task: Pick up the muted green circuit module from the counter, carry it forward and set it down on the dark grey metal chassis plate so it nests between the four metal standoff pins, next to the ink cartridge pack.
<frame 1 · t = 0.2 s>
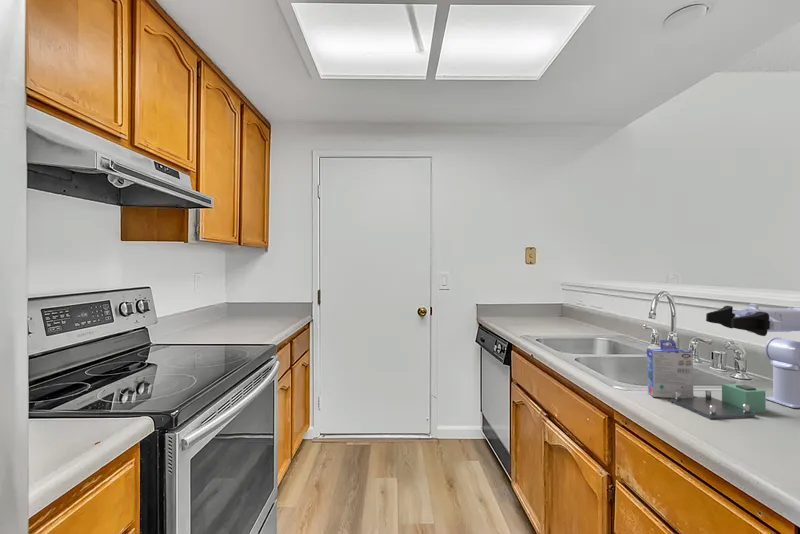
hand: (719, 320, 111), 21 cm above the table, tool horizontal, fingers open, 7 cm apart
chassis: (710, 408, 109), on the table
ink cartridge box: (669, 396, 121), on the table
module: (743, 408, 110), on the table
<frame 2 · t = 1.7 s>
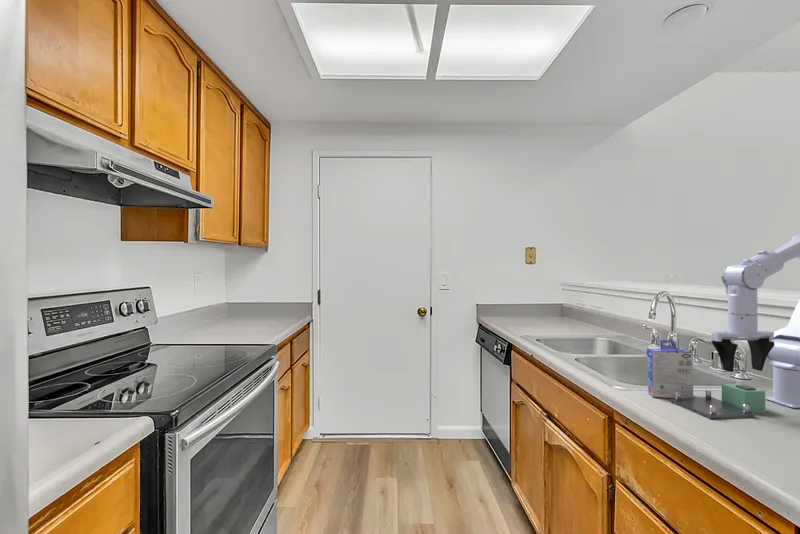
hand: (742, 370, 110), 9 cm above the table, tool pointing down, fingers open, 7 cm apart
nothing on the table moved.
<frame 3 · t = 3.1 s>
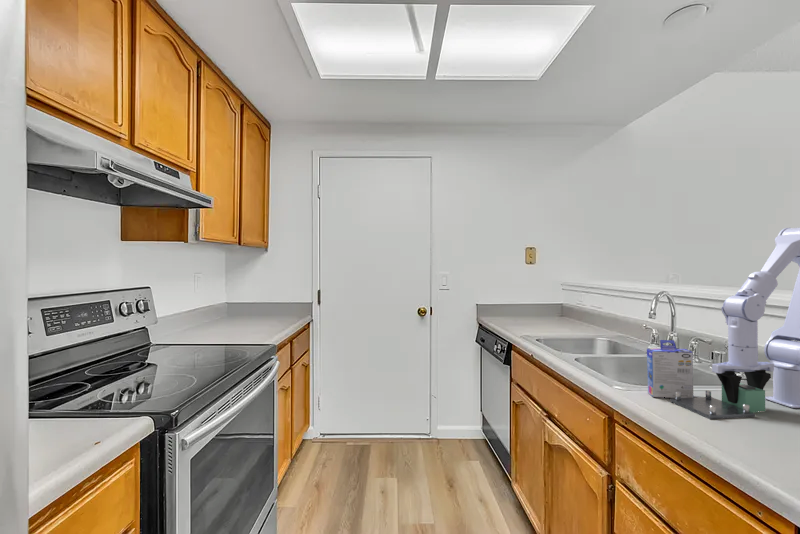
hand: (743, 401, 110), 1 cm above the table, tool pointing down, fingers closed on module, 5 cm apart
module: (742, 407, 110), on the table, touching gripper
everything else where it was.
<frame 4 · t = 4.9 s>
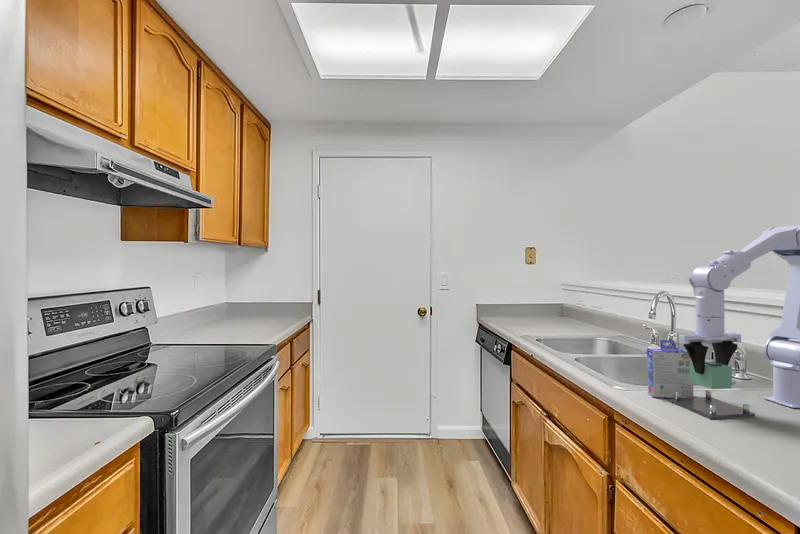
hand: (710, 372, 109), 9 cm above the table, tool pointing down, fingers closed on module, 5 cm apart
module: (710, 384, 109), point 6 cm above the table, touching gripper
everything else where it was.
when the fingers open (4 cm above the table, at t = 6.7 s): module stays where it is, resting on chassis.
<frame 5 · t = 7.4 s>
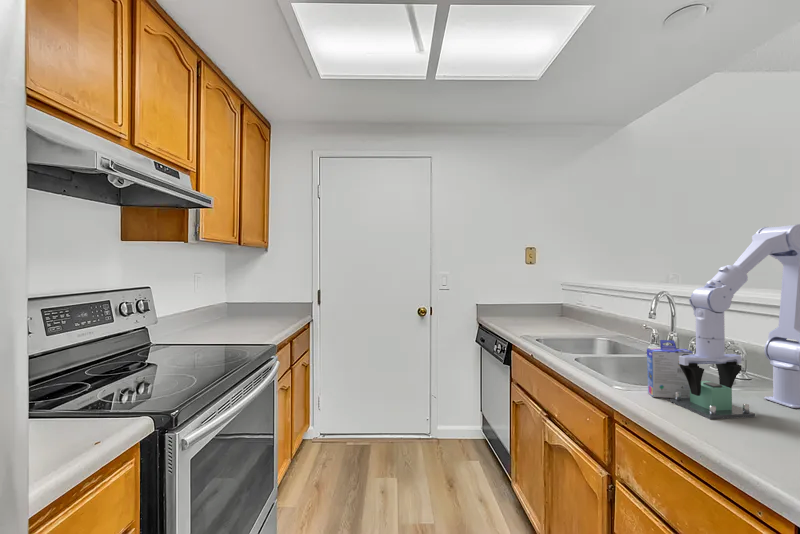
hand: (710, 394, 109), 4 cm above the table, tool pointing down, fingers open, 7 cm apart
module: (710, 405, 109), point 1 cm above the table, touching chassis
everything else where it was.
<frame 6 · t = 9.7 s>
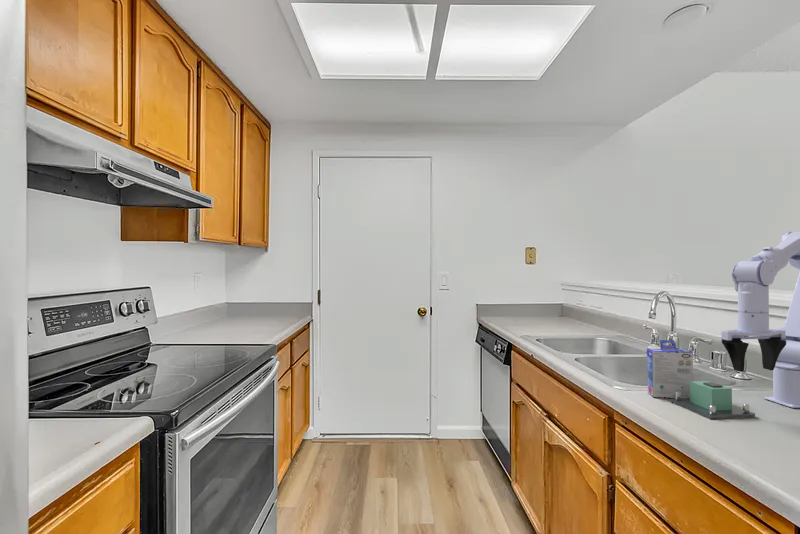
hand: (753, 370, 107), 10 cm above the table, tool pointing down, fingers open, 7 cm apart
nothing on the table moved.
at the end: module 0.1 cm off-centre on the chassis, point 0.8 cm above the chassis's base; module tilted 0°; the gripper is holding nothing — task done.
